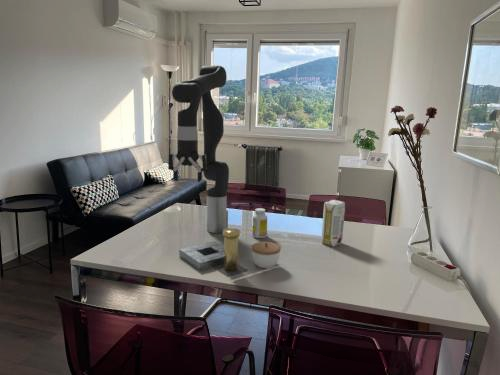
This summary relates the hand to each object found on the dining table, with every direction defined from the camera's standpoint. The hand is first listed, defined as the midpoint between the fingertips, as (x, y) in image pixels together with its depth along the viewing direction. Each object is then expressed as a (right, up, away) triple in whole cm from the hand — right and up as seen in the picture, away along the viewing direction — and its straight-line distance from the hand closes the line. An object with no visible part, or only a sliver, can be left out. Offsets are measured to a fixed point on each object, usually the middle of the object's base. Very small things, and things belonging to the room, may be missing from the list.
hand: (187, 181), depth 144 cm
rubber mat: (+17, -33, -6) cm, 37 cm away
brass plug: (+17, -32, -6) cm, 37 cm away
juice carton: (+60, -27, +24) cm, 70 cm away
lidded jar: (+29, -32, -1) cm, 44 cm away
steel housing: (+7, -30, +3) cm, 31 cm away
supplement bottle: (+28, -25, +31) cm, 49 cm away
